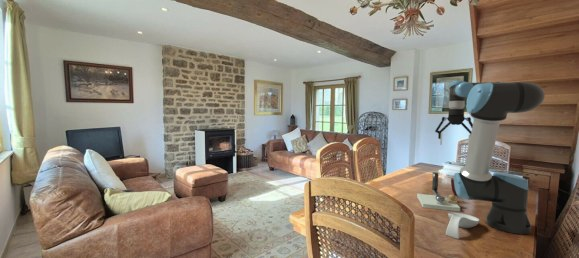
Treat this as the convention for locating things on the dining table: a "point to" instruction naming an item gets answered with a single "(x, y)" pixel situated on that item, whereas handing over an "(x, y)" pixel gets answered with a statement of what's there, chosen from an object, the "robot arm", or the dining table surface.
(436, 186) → the lever
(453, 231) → the spoon rest
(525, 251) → the dining table surface
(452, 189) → the mug
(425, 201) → the board
